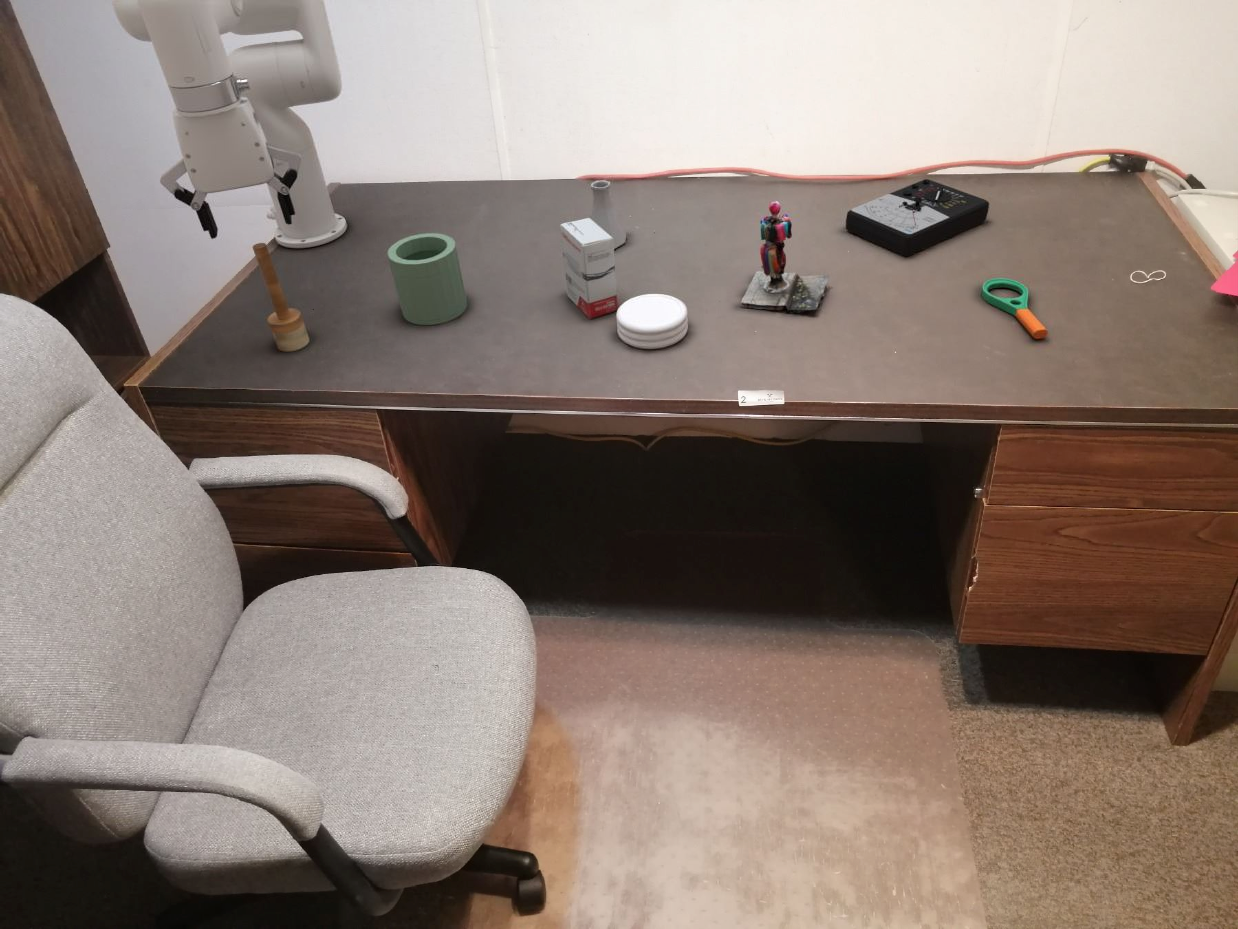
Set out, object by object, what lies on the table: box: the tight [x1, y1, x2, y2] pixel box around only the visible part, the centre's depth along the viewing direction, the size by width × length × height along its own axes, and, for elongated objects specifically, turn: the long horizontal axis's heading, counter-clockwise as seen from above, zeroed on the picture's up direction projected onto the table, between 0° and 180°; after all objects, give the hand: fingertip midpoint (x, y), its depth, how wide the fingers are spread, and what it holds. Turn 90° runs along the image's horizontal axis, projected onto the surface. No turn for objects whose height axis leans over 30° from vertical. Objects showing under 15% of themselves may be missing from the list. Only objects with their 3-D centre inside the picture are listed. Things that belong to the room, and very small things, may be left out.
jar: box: [387, 232, 468, 326], centre depth 133 cm, size 10×10×10 cm
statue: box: [740, 200, 830, 314], centre depth 127 cm, size 11×9×15 cm
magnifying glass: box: [981, 277, 1049, 339], centre depth 123 cm, size 15×6×2 cm, turn 3°
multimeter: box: [845, 178, 990, 257], centre depth 144 cm, size 13×19×5 cm
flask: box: [589, 179, 627, 250], centre depth 146 cm, size 7×7×10 cm
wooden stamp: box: [252, 242, 310, 352], centre depth 126 cm, size 5×5×16 cm
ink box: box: [559, 217, 619, 319], centre depth 130 cm, size 8×5×12 cm, turn 26°
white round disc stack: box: [615, 293, 689, 350], centre depth 125 cm, size 10×10×4 cm
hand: (252, 227), depth 119 cm, fingers open, 9 cm apart
